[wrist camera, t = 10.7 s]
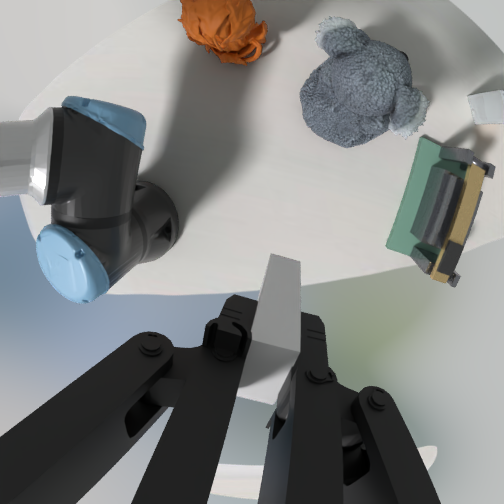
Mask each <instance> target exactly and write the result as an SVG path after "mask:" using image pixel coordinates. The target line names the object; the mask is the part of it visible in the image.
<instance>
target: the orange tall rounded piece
mask: <svg viewBox="0 0 504 504" xmlns="http://www.w3.org/2000/svg"><path fill="white" fill-rule="evenodd" d="M180 2H181V3H182V15H181V18H182V19H178V21H179V22H182V24H183V27H184V28H185V30H186V32H187V33H186V34H187V36H188V38H189V40H191V41H193V42H196V44H198V45H205V49H206V51H207V52H208V53H210V51H209V49H211V50H212V51H213V52H214V53H215V54H216V56H218V57H219V58H220V60H221V63H227V62H228V63H230V62H231V63H232V62H233V63H235V64H243V65H246V66H247V63H246V62H249V63H250V62H251V61H255V60H256V59H258V58H259V56H260V55H261V52H262V45H261V43H263V44H264V43H265V42H266V39H265V35H266V34H267V32H268V30H267V24H266V23H265V21H262V23H261V24H260V25H259V24H258V23H257V22H256V24H255V13H256V12H255V9H254V7H253V5H252V2H251V1H250V0H180ZM255 48H256V52H255V54H254V56H252V57H249V58H243V57H245V56H247V55H249V54H250V53H251V52H252V51H253V50H254V49H255Z"/></svg>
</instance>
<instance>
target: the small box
mask: <svg viewBox="0 0 504 504" xmlns="http://www.w3.org/2000/svg"><path fill="white" fill-rule="evenodd" d="M467 97H468V100H469V104H470V107H471V111H472V115H473V119H474V123H475V124H504V90H495V91H489V92H483V93H478V94H473V95H469V96H467Z"/></svg>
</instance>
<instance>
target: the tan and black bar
mask: <svg viewBox="0 0 504 504" xmlns="http://www.w3.org/2000/svg"><path fill="white" fill-rule="evenodd" d="M487 169H488V166H487V164H485V163H484V162H482V161H481V160H479V159H478V158H476V157H474V156H473V160H472V164H471V165H468V167H467V171H466V175H465V179H464V183H463V187H462V190H461V194H460V197H459V200H458V204H457V207H456V210H455V213H454V216H453V219H452V222H451V225H450V228H449V230H448V233H447V236H446V238H445V241H444V244H443V246H442V249H441V251H440V254H439V256H438V259H437V261H436V263H435V266H434V268H433V270H432V272H431V275H430V277H431V278H432V279H433V280H437V281H440V282H443V283H446V282H447V280H448V278H449V276H451V277H452V274H453V272H454V270H455V268H456V265H457V263H458V260H459V258H460V256H461V253H462V251H463V248H464V246H463V242H464V239H465V237H466V234H467V231H468V228H469V226H470V223H471V220H472V217H473V214H474V210H475V207H476V204H477V201H478V197H479V194H480V190H481V186H482V182H483V178H484V174H485V172H486V171H487Z"/></svg>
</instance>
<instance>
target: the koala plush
mask: <svg viewBox="0 0 504 504" xmlns="http://www.w3.org/2000/svg"><path fill="white" fill-rule="evenodd" d="M330 18H331V17H330V16H329V20H326V19H324V20H322V21H323V22H322V23H321V24H320V23H319V24H318V25H319V26H320V31H315V32H316V33H317V37H316V39H315V41H316V42H317V44H318V47H320V48H321V49H323V50H325V52H327V54H328V55H329V56H330V58H328V59H327V60H326V61H325V62H324V63H322V64H321V65H320V66H319V67H318V68H317V69H316V70H315V69H314V70H313V72H312V73H311V74H310V77H309V79H307V80H306V81H305V83H304V85H303V87H302V88H301V92H300V99H301V100H300V101H301V104H302V109H303V114H302V115H303V118H304V120H305V122H306V124H307V126H308V127H310V128H311V130H312V131H313V132H314V133H316V134H317V135H318V136H320V137H322V138H323V139H325V140H327V141H330V142H332V143H335V144H337V145H339V146H342V147H345V148H349V147H354V146H356V145H360V144H363V143H364V144H365V143H367V142H368V141H370V140H372V139H374V138H376V137H377V136H380V135H381V134H383V133H384V132H386V131H388V130H391V131H392V132H393V133H394V134H395V135H402V137H404V138H405V140H406V138H407V135H409V136H410V135H413V134H412V132H416V131H417V132H418V130H417V129H418V127H419V126H421V125H423V122H425V121H426V120H425V117H426V115H425V114H426V108H427V107H428V106H429V104H428V103H429V102H430V101H427V98H426V97H425V96H424V95H423V94H422V91H419V90H417V89H416V88H412V76H411V68H410V65H409V64H408V56H407V55H406V54H405V53H404V52H402V51H399V50H397V49H396V48H394V47H392V46H390V45H388V44H386V43H383V42H380V41H375V40H370V38H369V37H368V35H367V34H366V33H365V32H364V31H362V30H361V29H357V27H356V25H355V24H354V22H352V21H350V19H343V18H341V17H333V18H331V19H330ZM423 126H424V125H423Z"/></svg>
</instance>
